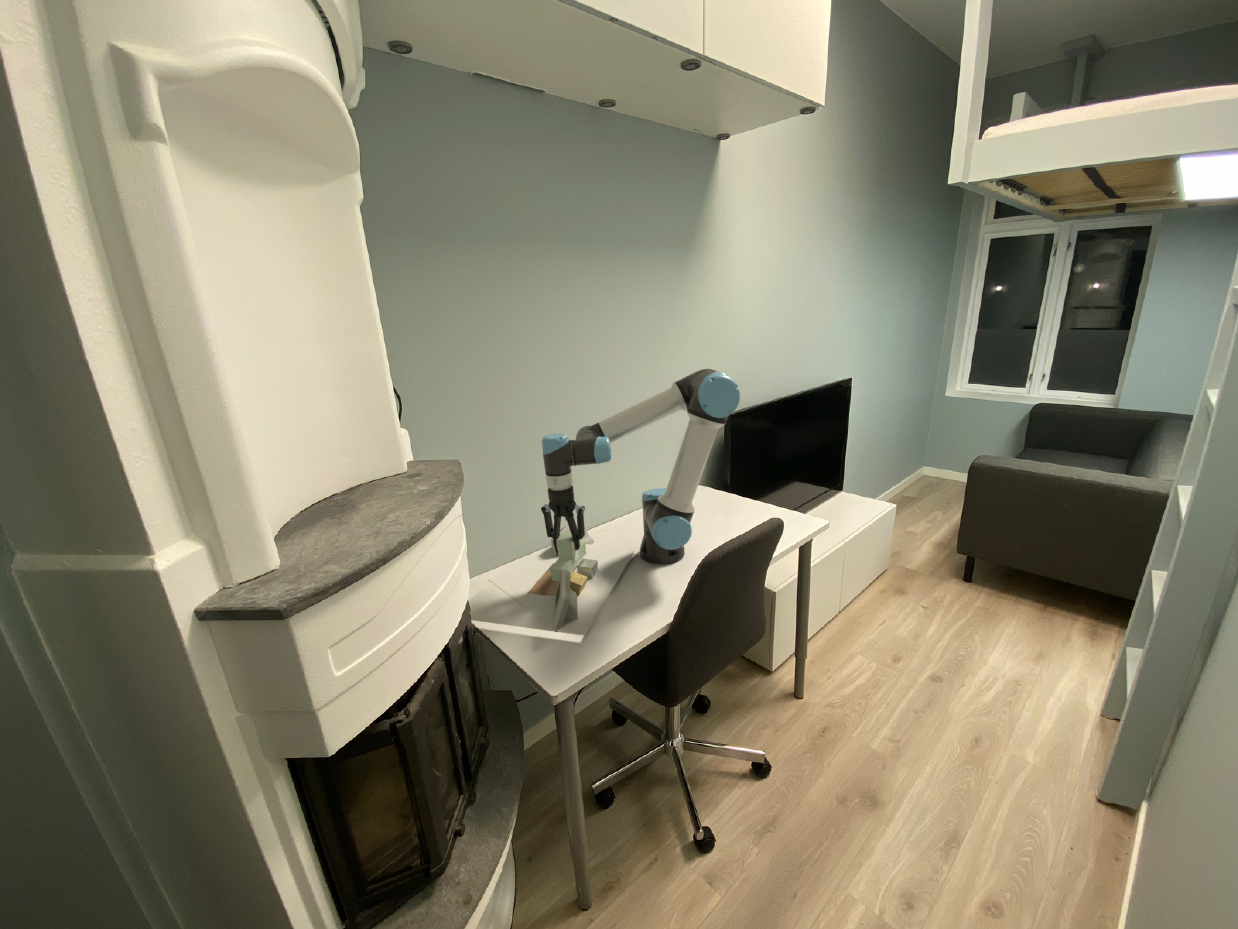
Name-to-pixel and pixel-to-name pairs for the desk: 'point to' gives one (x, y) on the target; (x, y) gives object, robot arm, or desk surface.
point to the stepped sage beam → (566, 556)
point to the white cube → (588, 568)
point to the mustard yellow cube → (577, 582)
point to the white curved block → (586, 538)
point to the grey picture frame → (564, 602)
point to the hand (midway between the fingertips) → (568, 558)
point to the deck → (545, 585)
